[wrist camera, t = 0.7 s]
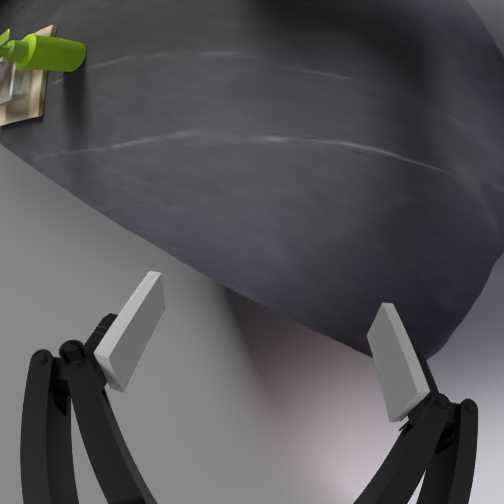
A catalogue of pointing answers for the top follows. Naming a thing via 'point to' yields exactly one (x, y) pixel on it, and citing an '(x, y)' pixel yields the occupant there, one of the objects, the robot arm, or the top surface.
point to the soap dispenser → (42, 53)
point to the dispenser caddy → (22, 89)
